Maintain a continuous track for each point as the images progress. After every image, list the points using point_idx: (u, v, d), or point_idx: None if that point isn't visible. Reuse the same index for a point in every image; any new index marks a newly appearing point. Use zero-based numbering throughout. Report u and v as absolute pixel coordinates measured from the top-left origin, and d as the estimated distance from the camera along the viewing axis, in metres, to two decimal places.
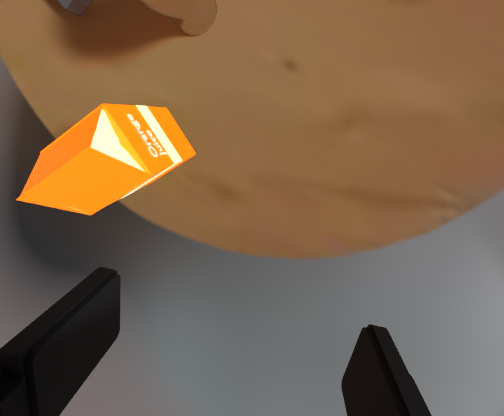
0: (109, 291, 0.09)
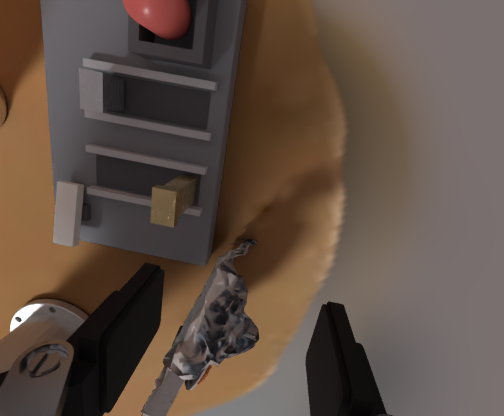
0: (156, 285, 0.10)
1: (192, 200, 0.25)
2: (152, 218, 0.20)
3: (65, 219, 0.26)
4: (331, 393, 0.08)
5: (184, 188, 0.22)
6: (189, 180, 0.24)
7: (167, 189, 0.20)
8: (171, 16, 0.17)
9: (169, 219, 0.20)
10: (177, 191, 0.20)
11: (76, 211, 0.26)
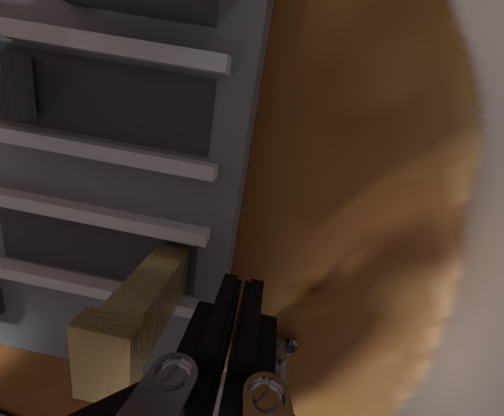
0: (238, 295, 0.10)
1: (181, 293, 0.13)
2: (76, 389, 0.08)
3: None
4: None
5: (159, 296, 0.10)
6: (174, 262, 0.11)
7: (107, 329, 0.08)
8: None
9: None
10: (134, 333, 0.08)
11: None
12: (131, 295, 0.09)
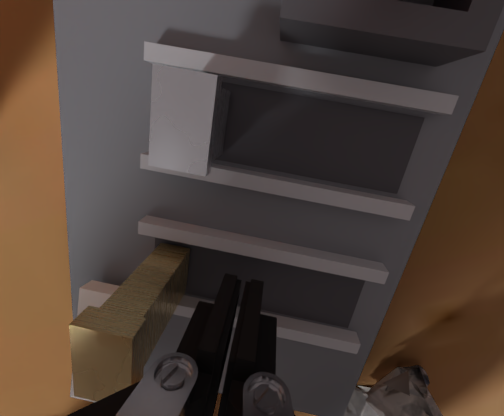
0: (238, 295, 0.10)
1: (182, 292, 0.13)
2: (77, 388, 0.08)
3: None
4: None
5: (160, 295, 0.10)
6: (175, 261, 0.12)
7: (109, 328, 0.08)
8: None
9: None
10: (135, 332, 0.08)
11: None
12: (132, 294, 0.09)
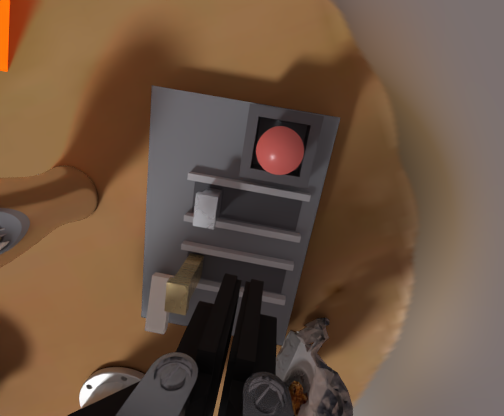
0: (238, 295, 0.10)
1: (200, 276, 0.27)
2: (166, 307, 0.23)
3: (158, 309, 0.28)
4: None
5: (194, 274, 0.24)
6: (198, 261, 0.26)
7: (180, 283, 0.22)
8: (297, 166, 0.19)
9: (181, 308, 0.22)
10: (189, 285, 0.22)
11: None
12: (184, 274, 0.24)
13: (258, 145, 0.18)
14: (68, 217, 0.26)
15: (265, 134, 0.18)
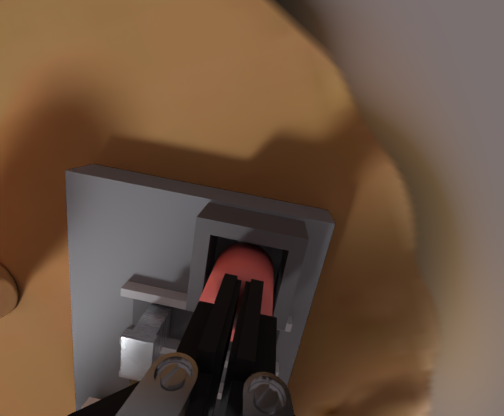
0: (238, 295, 0.10)
1: None
2: None
3: None
4: None
5: None
6: None
7: None
8: None
9: None
10: None
11: None
12: None
13: None
14: None
15: (211, 288, 0.11)
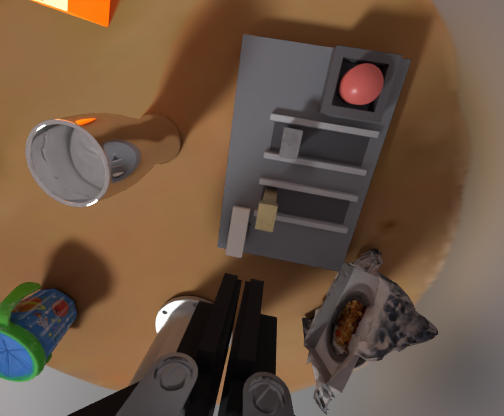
0: (238, 295, 0.10)
1: None
2: (256, 225, 0.27)
3: (237, 236, 0.32)
4: None
5: None
6: (275, 193, 0.30)
7: (270, 204, 0.26)
8: (375, 97, 0.24)
9: (270, 226, 0.27)
10: (277, 205, 0.26)
11: (246, 230, 0.32)
12: (268, 200, 0.28)
13: (346, 80, 0.23)
14: (163, 156, 0.31)
15: (353, 70, 0.23)
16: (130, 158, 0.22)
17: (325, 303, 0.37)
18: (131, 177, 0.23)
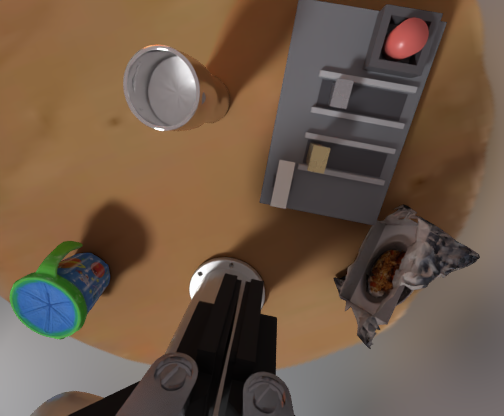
0: (238, 295, 0.10)
1: None
2: (309, 167, 0.30)
3: (282, 188, 0.35)
4: None
5: None
6: (320, 145, 0.33)
7: (323, 146, 0.29)
8: (420, 49, 0.27)
9: (321, 168, 0.30)
10: (329, 148, 0.29)
11: (290, 182, 0.35)
12: None
13: (396, 32, 0.27)
14: (218, 110, 0.33)
15: (402, 23, 0.26)
16: (209, 91, 0.25)
17: (359, 258, 0.39)
18: (207, 111, 0.26)
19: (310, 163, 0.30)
